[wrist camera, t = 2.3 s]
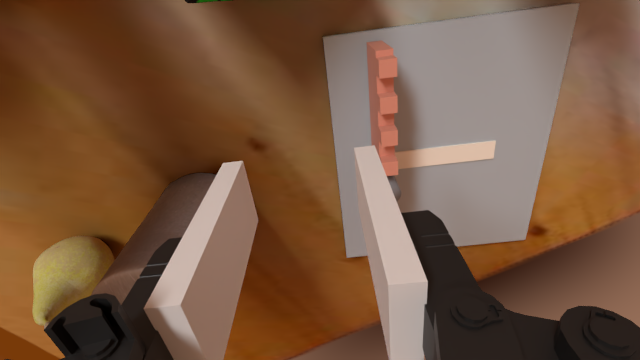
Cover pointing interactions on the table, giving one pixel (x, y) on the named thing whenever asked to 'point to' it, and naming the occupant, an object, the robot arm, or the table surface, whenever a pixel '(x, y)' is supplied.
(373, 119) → the pink crenellated wall
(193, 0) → the puzzle cube
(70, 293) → the fruit
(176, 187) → the pillar candle
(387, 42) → the board
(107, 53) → the table surface
